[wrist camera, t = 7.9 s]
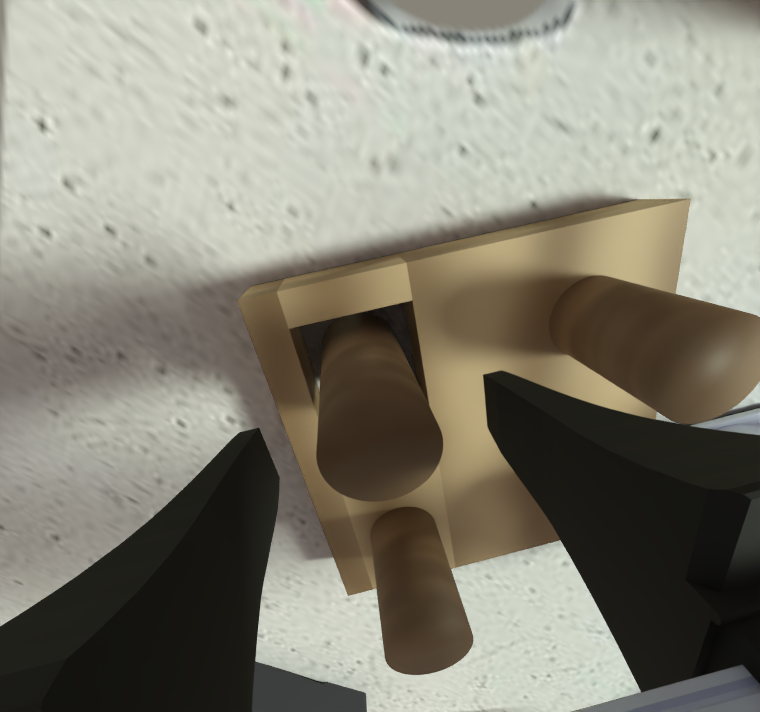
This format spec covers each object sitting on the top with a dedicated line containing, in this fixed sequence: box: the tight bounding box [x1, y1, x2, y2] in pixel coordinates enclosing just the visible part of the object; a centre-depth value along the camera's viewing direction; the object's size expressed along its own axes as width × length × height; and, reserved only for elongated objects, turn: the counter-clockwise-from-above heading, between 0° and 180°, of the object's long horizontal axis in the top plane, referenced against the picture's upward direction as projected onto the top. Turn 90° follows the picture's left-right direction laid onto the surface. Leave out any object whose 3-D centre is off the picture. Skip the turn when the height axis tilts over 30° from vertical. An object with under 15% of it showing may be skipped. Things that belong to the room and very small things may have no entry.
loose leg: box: [316, 312, 443, 502], centre depth 14 cm, size 4×4×8 cm
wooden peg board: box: [237, 199, 760, 675], centre depth 16 cm, size 18×18×8 cm
